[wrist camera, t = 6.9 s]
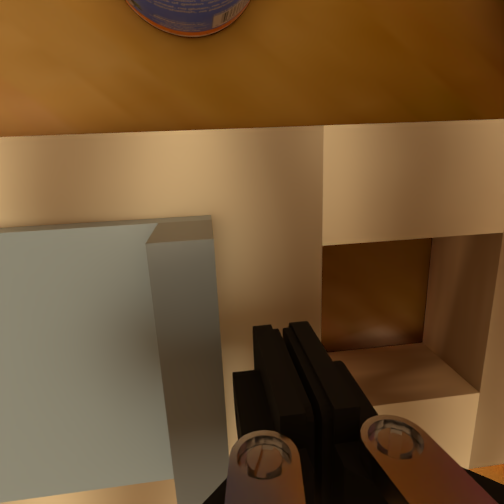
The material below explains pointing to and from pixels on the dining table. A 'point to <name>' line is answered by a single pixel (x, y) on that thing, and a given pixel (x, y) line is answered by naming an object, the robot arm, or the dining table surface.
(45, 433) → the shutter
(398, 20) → the dining table surface
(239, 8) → the pill bottle
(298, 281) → the socket block
